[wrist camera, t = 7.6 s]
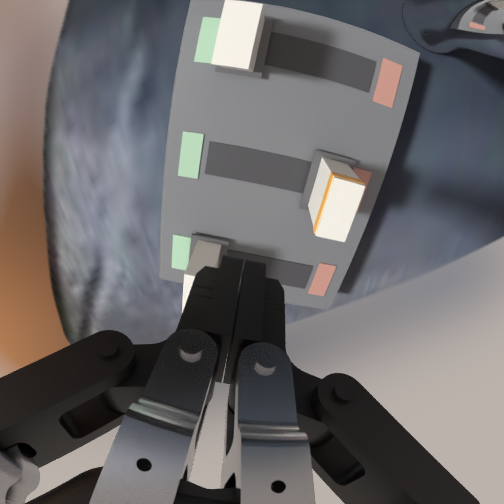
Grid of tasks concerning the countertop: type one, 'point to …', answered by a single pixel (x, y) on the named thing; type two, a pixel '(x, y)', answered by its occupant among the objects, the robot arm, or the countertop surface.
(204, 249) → the breaker
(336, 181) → the block
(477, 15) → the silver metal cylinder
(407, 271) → the countertop surface
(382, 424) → the robot arm
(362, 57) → the breaker panel
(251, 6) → the breaker
